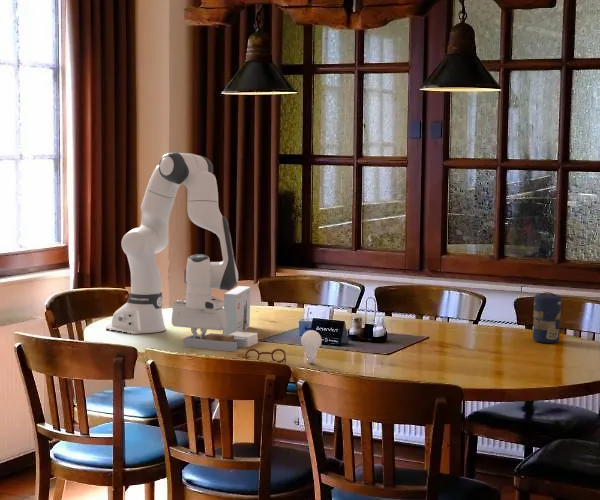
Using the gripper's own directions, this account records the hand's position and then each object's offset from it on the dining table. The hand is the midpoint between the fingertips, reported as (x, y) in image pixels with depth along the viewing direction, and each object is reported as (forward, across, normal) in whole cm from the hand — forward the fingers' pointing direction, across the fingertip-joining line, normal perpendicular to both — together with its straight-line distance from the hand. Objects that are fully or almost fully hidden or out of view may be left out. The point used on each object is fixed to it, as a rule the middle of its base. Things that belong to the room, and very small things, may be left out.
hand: (198, 340), depth 359 cm
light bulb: (+2, +47, -10) cm, 48 cm away
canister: (+2, +110, +59) cm, 124 cm away
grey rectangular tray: (+2, +7, 0) cm, 7 cm away
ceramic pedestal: (+2, +13, +8) cm, 15 cm away
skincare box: (+2, +1, +28) cm, 29 cm away
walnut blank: (+2, +8, 0) cm, 8 cm away
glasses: (+2, +35, -20) cm, 40 cm away
